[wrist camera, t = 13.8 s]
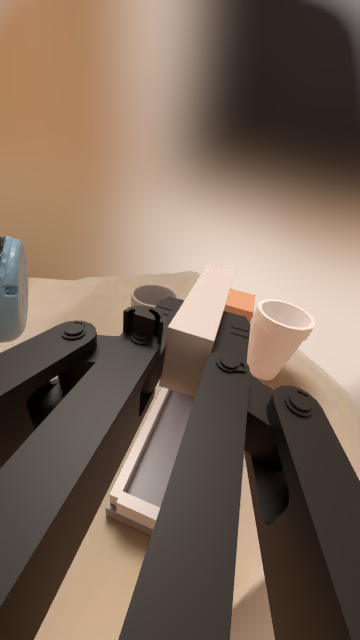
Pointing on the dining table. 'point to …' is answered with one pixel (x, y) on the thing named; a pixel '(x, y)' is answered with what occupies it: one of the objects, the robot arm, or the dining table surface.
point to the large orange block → (240, 304)
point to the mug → (150, 295)
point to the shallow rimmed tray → (150, 463)
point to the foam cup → (276, 336)
